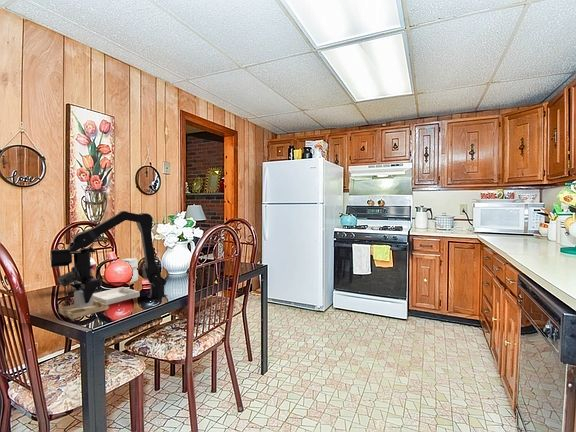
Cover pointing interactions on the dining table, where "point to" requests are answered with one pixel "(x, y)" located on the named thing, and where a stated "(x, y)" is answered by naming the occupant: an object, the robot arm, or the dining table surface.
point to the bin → (115, 295)
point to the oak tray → (82, 310)
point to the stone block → (81, 299)
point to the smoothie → (93, 270)
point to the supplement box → (133, 267)
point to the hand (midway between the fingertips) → (83, 301)
